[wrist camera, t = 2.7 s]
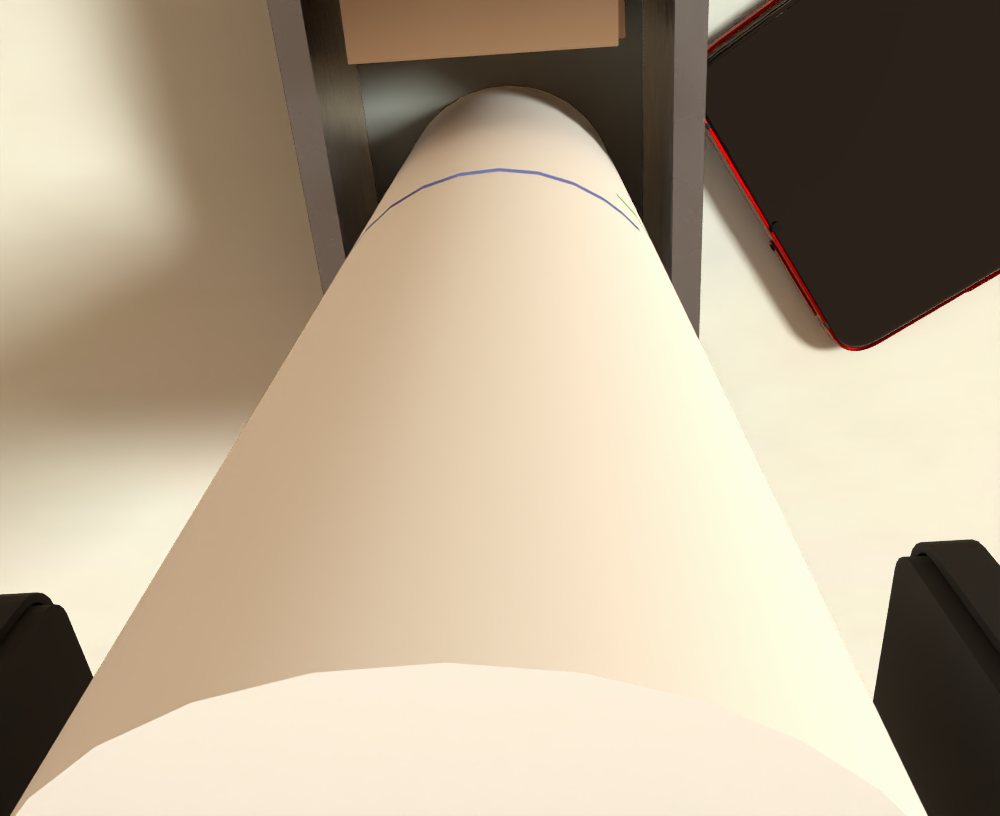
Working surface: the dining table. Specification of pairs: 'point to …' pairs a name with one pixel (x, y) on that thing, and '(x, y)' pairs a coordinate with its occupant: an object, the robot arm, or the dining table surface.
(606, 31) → the walnut offcut upper
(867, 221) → the smartphone
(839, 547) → the dining table surface
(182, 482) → the dining table surface
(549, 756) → the cylindrical container
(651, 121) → the rack
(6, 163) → the dining table surface
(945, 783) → the robot arm
